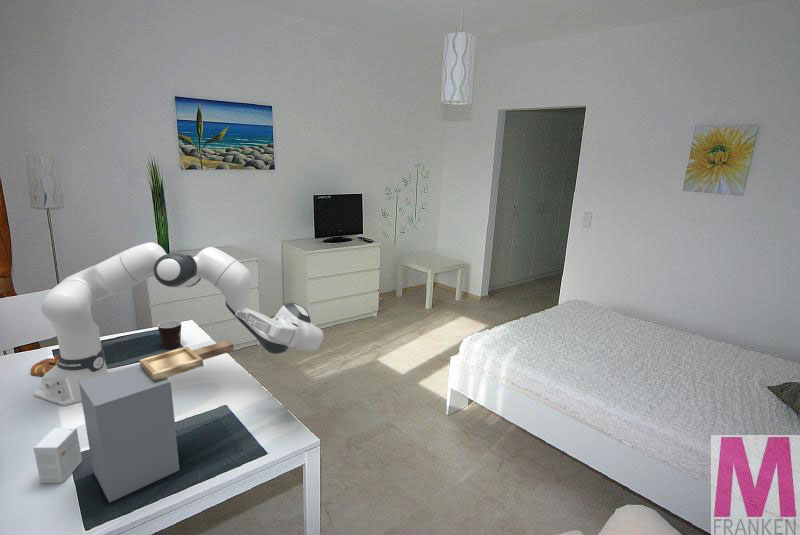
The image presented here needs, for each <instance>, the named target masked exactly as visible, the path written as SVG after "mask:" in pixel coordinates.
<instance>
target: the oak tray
mask: <svg viewBox="0 0 800 535" xmlns="http://www.w3.org/2000/svg"><path fill="white" fill-rule="evenodd" d="M230 352H234V343H232V342H230V341H229V340H224V341H220V342H216V343H213V344H209V345H205V346H201V347H200V348H196V349H193V350H192V349H191V348H190V347H188V346H183V347H181V348H180V347H179V348H176V349H172V350H168V351H166V352H163V353H159V354H156V355H152V356H148V357H144V358H140V359H139V365H140V367H141V368H142V369H143V370H144V371H145V372H146V373H147V374H148V376H149V377H150V378H151V379H152V380H153V381H154V382H155V381H158V380H161V379H164V378H170V377H173V376H176V375H179V374H183V373H187V372H189V371H192V370H195V369H199V368H201V367H204V360H207V359H211V358H214V357H218V356H221V355H224V354H228V353H230Z"/></svg>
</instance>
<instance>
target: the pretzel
mask: <svg viewBox="0 0 800 535" xmlns="http://www.w3.org/2000/svg"><path fill="white" fill-rule="evenodd" d="M54 357H55V358H57V357H56V356H54ZM54 357H50V358H45V359H42V360H40V361H38V362H36V363H35V364H33V365H32V366H31V367H30V368H31V369H30V371H29V372H30V374H31V375H32V376H34V377H41V378H43V376H44V375H45V374H46V373H47V372H48V371H49V370H51V369H52V368H53V367H55V366H56V365H57V363H58V359H57V360H54V359H55V358H54Z"/></svg>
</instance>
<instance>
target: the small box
mask: <svg viewBox="0 0 800 535" xmlns="http://www.w3.org/2000/svg"><path fill="white" fill-rule="evenodd" d="M33 451H34V457H35V462H36V466H37V472H38V477H39V482H40V483H41V484H60V483H61V484H62V483H65V481H66V480H67V479H69V477H70V476H71V475H72V473H74V471H75V470H76V469H77V468H78V467H79V465H80V464H81V463H82V462H83V458H82V452H81V445H80V440H79V435H78V428H77V427H53V429H52V430H50V431H49V432H48V433H47V434H46V435H45V436H44V437H43V438H42V439H41V440H39V442H38V443H37V444H36V445H35V446H33Z"/></svg>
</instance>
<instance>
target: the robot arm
mask: <svg viewBox="0 0 800 535" xmlns="http://www.w3.org/2000/svg"><path fill="white" fill-rule="evenodd" d="M151 277H155V279H156V280H157V282H158V283H159V284H161V285H162V286H166V287H169V288H176V289H177V288H178V289H180V288H182V289H183V288H191V287H193V286H195V285H198V283H200V281H201V280H202V279H204V280H205V281H207V282H209V283H210V284H211V285H213V286H214V287H216V288H217V289H218V290H219V291H220V292H221V293H222V295H223V297H224V299H225V306H226V308H227V309H228V310H229V312H230V313H231V314H232V315H233V316H234V318H235V319H237V321H239V322H240V323H241V324H242V325H243V326H244V328H246V329H247V330H248V331H249V332H250V333H251V334H252V335H253V336H254V338H256V340H257V341H258V342H259V343H260V345H261V346H262V347H263V349H265V350H266V351H267V352H268V353H269V354H273V355H277V354H282V353H286V352H287V350H288V349H289V348H294V349H297V350H301V351H305V352H306V351H308V352H309V351H310V352H313V351H316V350H317V349H318V348H319V347H320V346H321V345H322V343H323V341H324V331H323V330H322V329H321V328H320V327H318V326H316V325H315V324H314V323H312V322H311V321H312V320H311V316H310V314H309V312H308V310H307V309H306V308H305V307H304V306H303V305H300V304H298V303H296V302H287V303H284V304H283V305H281V308H280V309H279V310H278V312H277V313H276V314H275V316H274V317H272V318H271V317H269V316H268V315H265V314H263V313H261V312H258V311H256V310H253V309H250V307H249V306H250V305H249V298H250V293H251V289H252V285H253V284H252V282H253V278H252V274H251V272H250V270H249V269H248V268H247V267H246V266H245V265H244V264H242V263H241V262H240V261H238V260H237V259H236V258H235V257H233V256H231V255H230V254H228V253H226V252H224V251H222V250H220V249H219V248H216V247H214V246H207V247H204V248H203V249H200V251H199V252H198V253H197V254H196V255H195V256H192V255H191V254H183V253H175V252H173V253H172V252H171V253H167V252H166V251H165V249H164V248H163V247H162V246H161V245H160V244H158V243H156V242H152V241H151V242H149V241H148V242H145V243H142V244H139V245H135V246H132V247H130V248H127V249H125V250H124V251H121V252H119V253H117V254H115V255H114V256H112V257H111V256H110V257H109V258H107V259H105V260H103V261H101V262H99V263H97V264H95V265H92V266H90V267H87V268H84V269H82V270H80V271H78V272H76V273H74V274H72V275H69V276H66V277H65V278H64V279H63V280H61V281H60V282H59V283H58V284H57V285H56V286H54V287H53V288H52V289H50V290H49V291H48V292H47V293H46V294H45V296H44V299H42V303H41V305H40V306H41V307H40V308H41V309H40V310H41V313H42V315H43V316H44V317H45V318H46V319H47V320H48V321H50V323H51V325H52V327H53V329H54V331H55V333H56V334H55V335H56V338H57V343H58V347H59V354H57V355H56V356H54V357H53V359H54V358H55V357H57V358H55V359H54V360H57V359H58V363H57V365H56V366H55V367H53V368H52V369H51V370H49V371H48V372H47V373H46V374H45V375H44V376H43V377H41V378H42V379H41V386H39V387H37V388H36V389H35V390H34V392H33V396H35V397H37V398H40V399H43V400H45V401H48V402H51V403H54V404H56V403H57V404H56V405H59V406H68V405H72V404H75V403H79V402H80V403H81V402H82V399H81V393H80V386H79V382H80V381H84V380H87V379H91V378H94V377H98V376H101V375H105V374H108V373H109V371H108V367H107V363H106V360H105V351H104V347H102V341H101V336H100V335H101V334H100V328H99V326H98V324H96V323H95V321H94V318H93V315H92V312H91V307H92V306H93V305H94V304H95V303H97V302H98V301H100V300H103V299H106V298H108V297H110V296H113V295H117V294H120V293H122V292H124V291H126V290H128V289H130V288H132V287H135V285H137V284H140V283H142V282H143V281H145V280H147V279H149V278H151Z"/></svg>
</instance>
